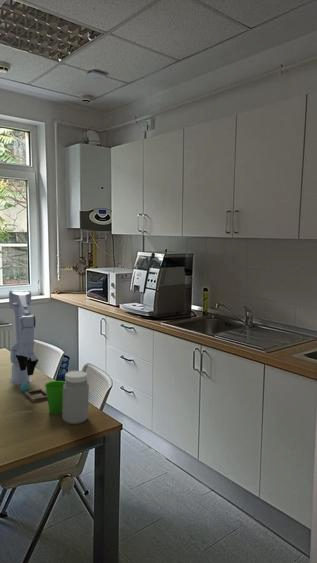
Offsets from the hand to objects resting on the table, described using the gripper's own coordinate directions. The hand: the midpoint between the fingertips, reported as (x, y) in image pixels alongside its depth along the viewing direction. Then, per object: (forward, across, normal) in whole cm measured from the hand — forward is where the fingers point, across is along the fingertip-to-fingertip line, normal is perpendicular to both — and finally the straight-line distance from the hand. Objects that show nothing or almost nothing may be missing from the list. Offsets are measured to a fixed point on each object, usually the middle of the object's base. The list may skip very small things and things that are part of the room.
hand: (26, 372), depth 181 cm
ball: (+9, -1, 0) cm, 9 cm away
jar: (+9, +36, +3) cm, 37 cm away
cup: (+9, +25, +1) cm, 27 cm away
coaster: (+9, -1, 0) cm, 9 cm away
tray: (+9, +8, +2) cm, 12 cm away
